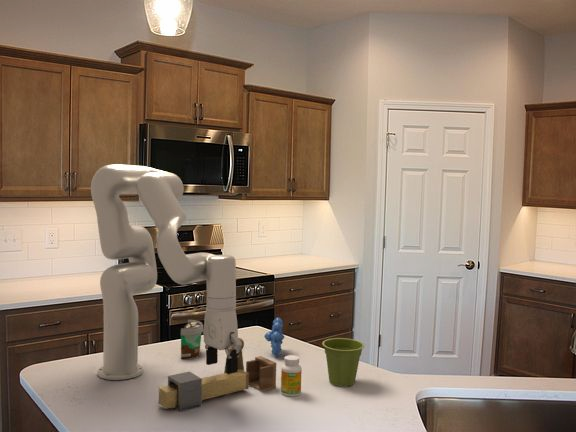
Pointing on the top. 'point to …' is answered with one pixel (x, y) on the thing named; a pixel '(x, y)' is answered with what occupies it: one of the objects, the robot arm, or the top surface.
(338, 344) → the plant pot
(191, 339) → the food container
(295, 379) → the supplement bottle
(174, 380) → the steel sleeve
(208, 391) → the long gold plank
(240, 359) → the cork
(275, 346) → the grapes
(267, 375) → the walnut socket
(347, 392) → the top surface
